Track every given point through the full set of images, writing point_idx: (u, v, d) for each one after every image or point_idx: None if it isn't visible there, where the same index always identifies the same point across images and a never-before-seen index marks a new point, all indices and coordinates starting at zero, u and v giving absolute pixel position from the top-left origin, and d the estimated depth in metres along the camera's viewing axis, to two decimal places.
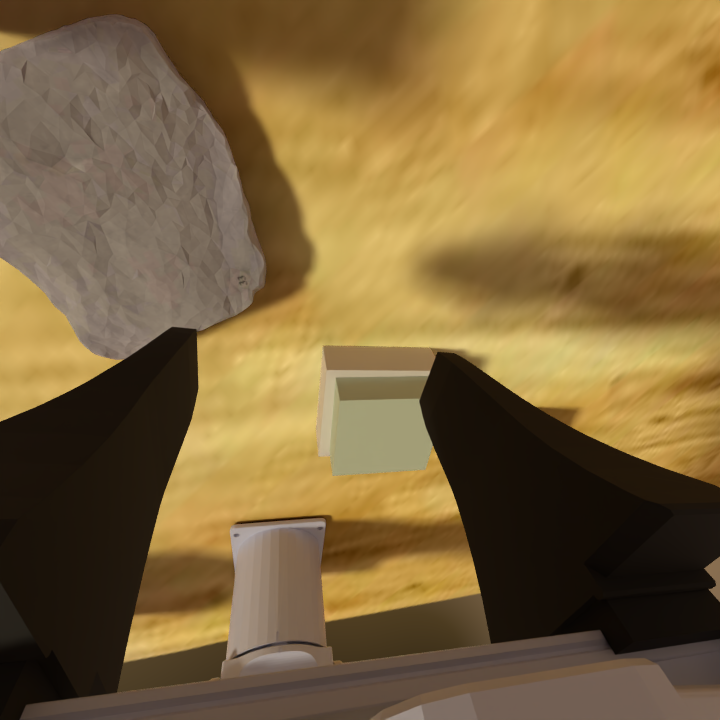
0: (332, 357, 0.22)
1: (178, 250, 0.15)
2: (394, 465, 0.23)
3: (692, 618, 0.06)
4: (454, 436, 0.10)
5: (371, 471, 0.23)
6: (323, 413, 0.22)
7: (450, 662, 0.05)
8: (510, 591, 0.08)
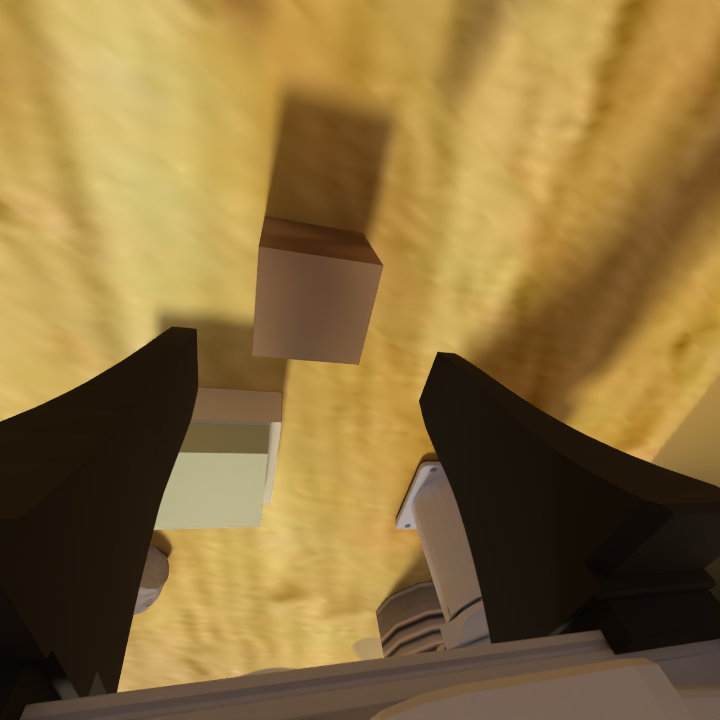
0: None
1: None
2: (253, 483, 0.19)
3: (692, 618, 0.06)
4: (454, 436, 0.10)
5: (259, 500, 0.20)
6: None
7: (450, 662, 0.05)
8: (510, 591, 0.08)
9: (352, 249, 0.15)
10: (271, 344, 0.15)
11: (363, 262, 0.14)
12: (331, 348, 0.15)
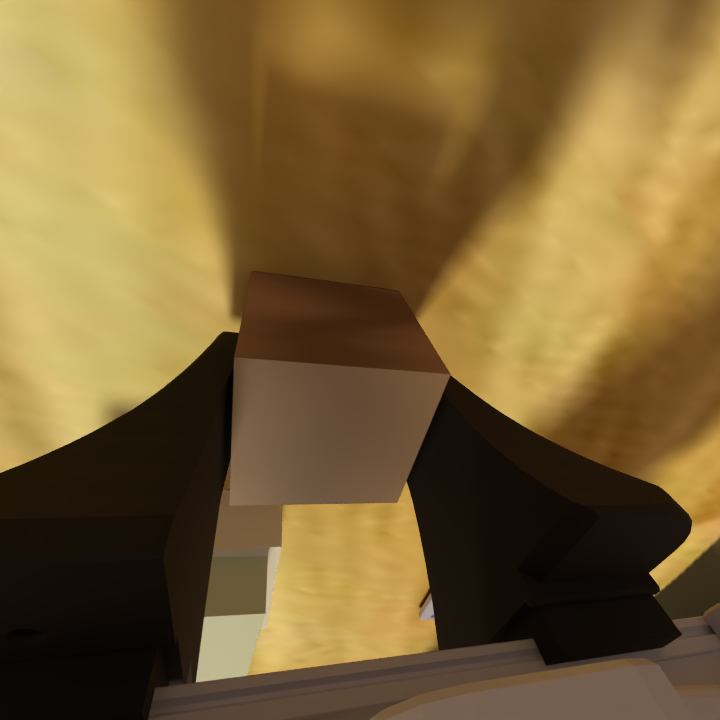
0: None
1: None
2: (241, 642, 0.14)
3: (630, 626, 0.06)
4: None
5: (248, 657, 0.14)
6: None
7: (450, 662, 0.05)
8: (455, 596, 0.07)
9: (393, 335, 0.09)
10: (260, 489, 0.09)
11: (418, 370, 0.08)
12: (356, 487, 0.10)
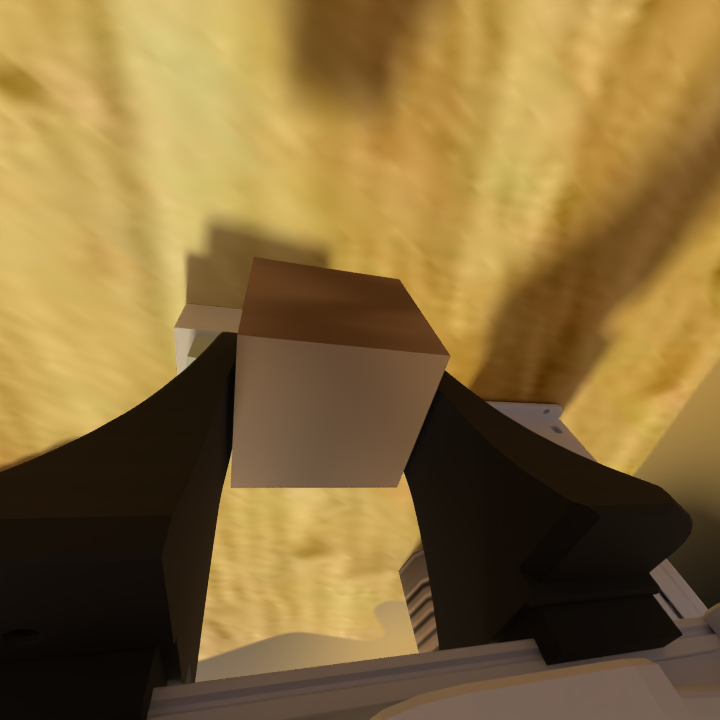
0: None
1: None
2: None
3: (631, 626, 0.06)
4: None
5: None
6: None
7: (450, 662, 0.05)
8: (456, 596, 0.07)
9: (394, 319, 0.09)
10: (261, 471, 0.09)
11: (418, 351, 0.08)
12: (356, 470, 0.10)
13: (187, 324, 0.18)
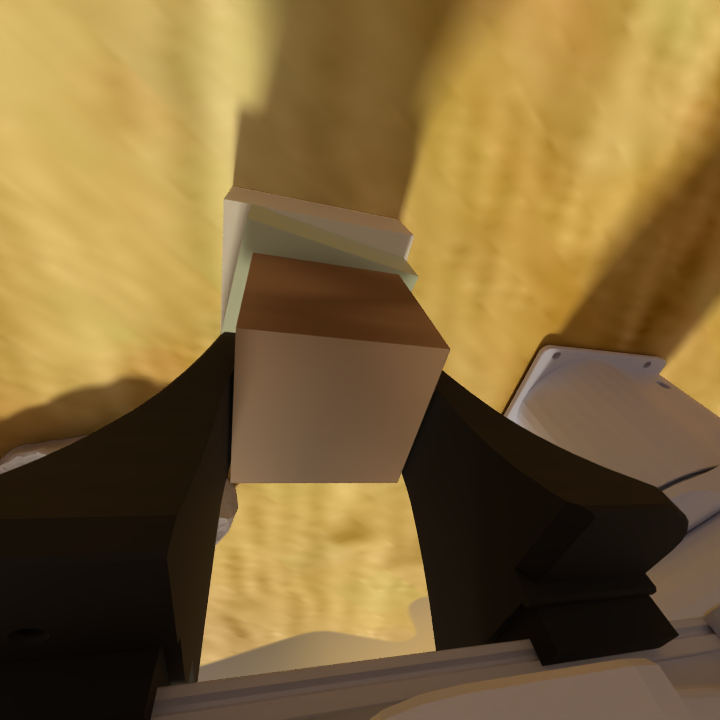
0: None
1: None
2: None
3: (627, 626, 0.06)
4: None
5: None
6: None
7: (450, 662, 0.05)
8: (453, 596, 0.07)
9: (393, 313, 0.09)
10: (261, 466, 0.09)
11: (418, 344, 0.08)
12: (357, 465, 0.10)
13: (240, 199, 0.13)
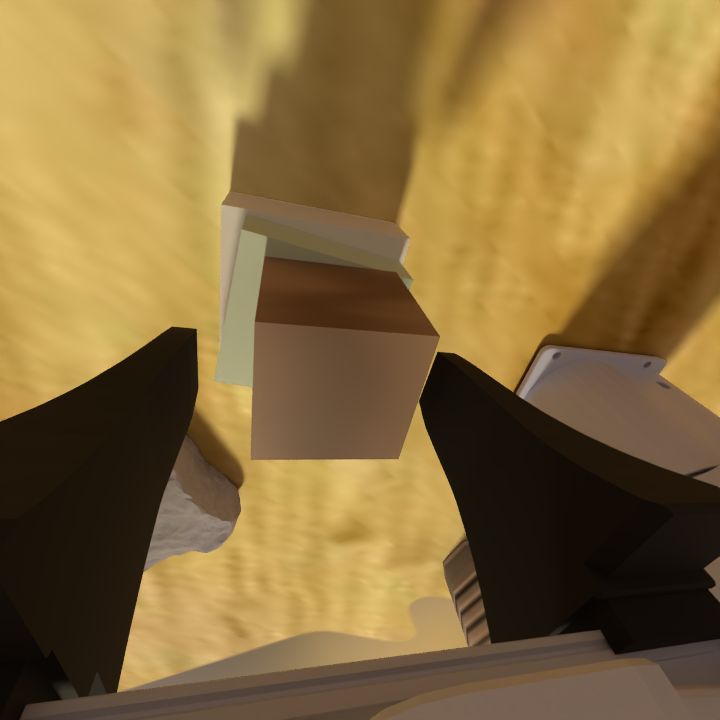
0: None
1: None
2: None
3: (692, 618, 0.06)
4: (454, 436, 0.10)
5: None
6: None
7: (450, 662, 0.05)
8: (510, 591, 0.08)
9: (390, 307, 0.10)
10: (277, 444, 0.10)
11: (411, 333, 0.09)
12: (361, 443, 0.11)
13: (237, 204, 0.13)
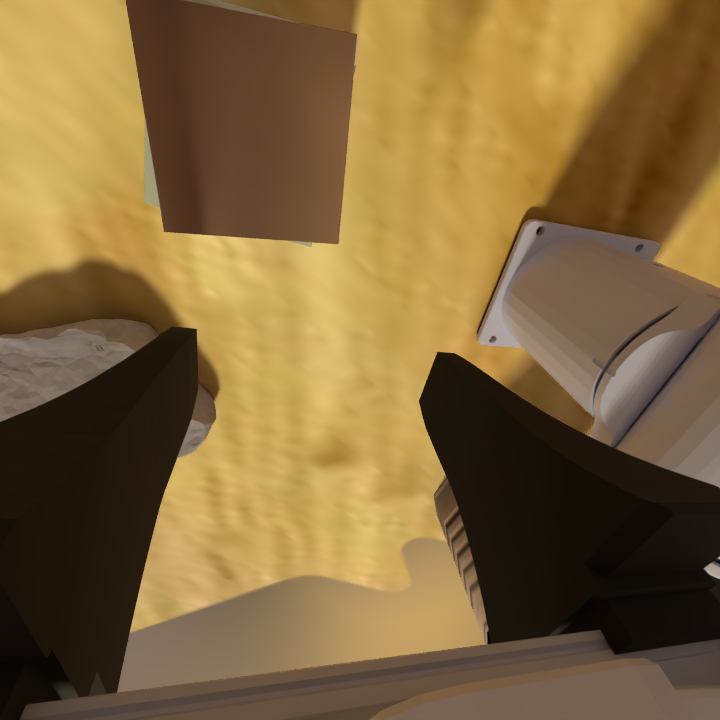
0: None
1: None
2: None
3: (692, 618, 0.06)
4: (454, 436, 0.10)
5: None
6: None
7: (450, 662, 0.05)
8: (510, 591, 0.08)
9: None
10: (191, 208, 0.09)
11: (321, 27, 0.08)
12: (290, 214, 0.10)
13: None
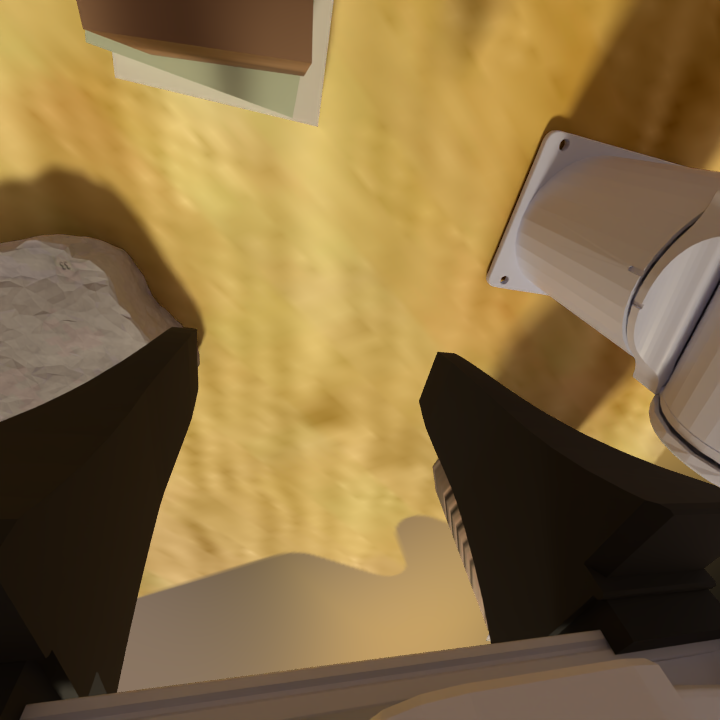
0: None
1: (38, 318, 0.16)
2: None
3: (692, 618, 0.06)
4: (454, 436, 0.10)
5: None
6: (215, 100, 0.13)
7: (450, 662, 0.05)
8: (510, 591, 0.08)
9: None
10: None
11: None
12: (247, 9, 0.07)
13: None
